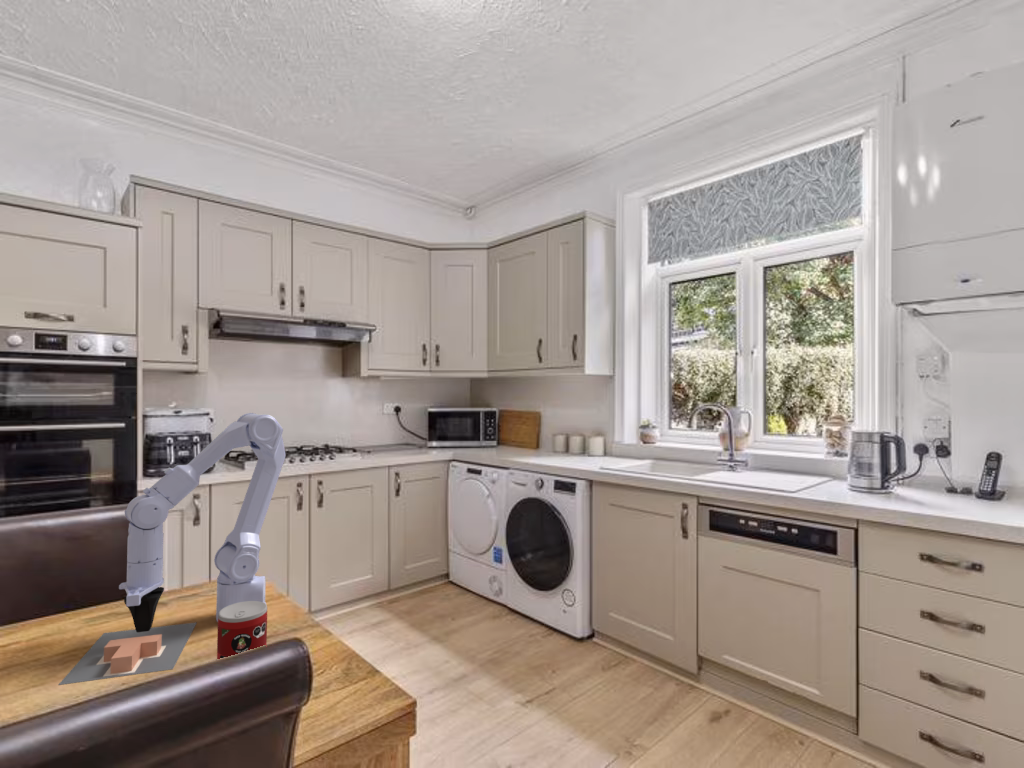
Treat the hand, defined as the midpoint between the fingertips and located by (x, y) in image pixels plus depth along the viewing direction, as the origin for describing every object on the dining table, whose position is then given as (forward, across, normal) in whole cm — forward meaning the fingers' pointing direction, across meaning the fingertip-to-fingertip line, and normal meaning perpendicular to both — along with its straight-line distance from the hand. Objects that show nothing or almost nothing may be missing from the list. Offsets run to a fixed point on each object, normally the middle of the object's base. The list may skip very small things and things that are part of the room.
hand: (143, 630), depth 103 cm
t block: (+2, +9, 0) cm, 9 cm away
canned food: (+3, +17, +19) cm, 26 cm away
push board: (+3, +4, 0) cm, 5 cm away
